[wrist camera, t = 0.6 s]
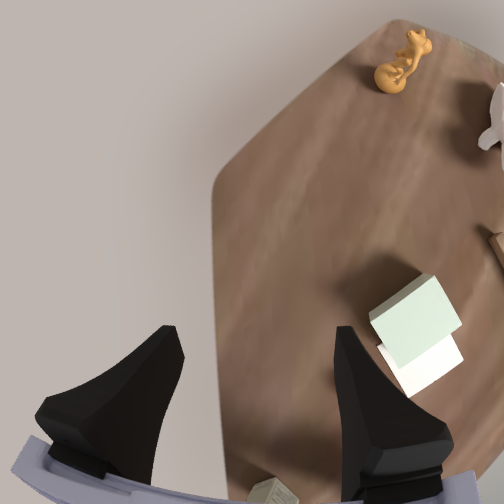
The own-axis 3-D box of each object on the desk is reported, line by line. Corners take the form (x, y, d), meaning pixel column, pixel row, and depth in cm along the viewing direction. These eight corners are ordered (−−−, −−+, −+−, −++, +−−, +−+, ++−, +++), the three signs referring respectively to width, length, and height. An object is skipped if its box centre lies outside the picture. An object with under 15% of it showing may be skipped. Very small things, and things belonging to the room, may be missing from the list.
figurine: (382, 58, 32) (381, -3, 21) (425, 74, 30) (438, 14, 19) (365, 106, 33) (363, 47, 22) (411, 123, 31) (427, 69, 20)
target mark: (463, 359, 28) (463, 360, 28) (407, 397, 30) (408, 398, 30) (434, 305, 30) (434, 306, 30) (377, 346, 32) (377, 346, 32)
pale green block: (447, 315, 29) (461, 324, 24) (393, 353, 31) (399, 369, 26) (422, 273, 30) (434, 275, 25) (368, 312, 32) (370, 322, 27)
